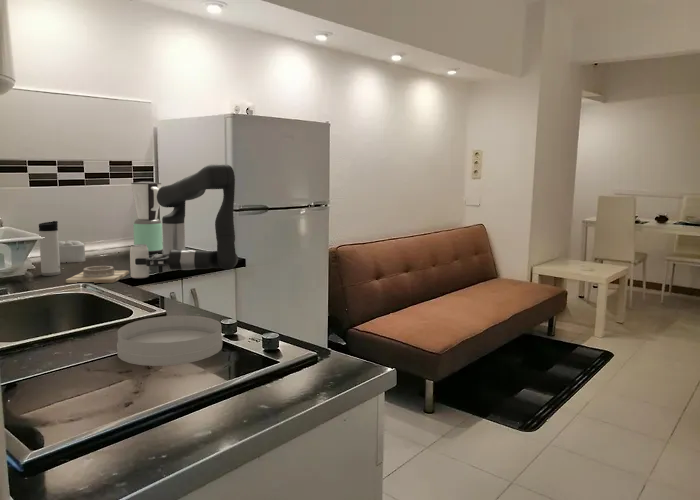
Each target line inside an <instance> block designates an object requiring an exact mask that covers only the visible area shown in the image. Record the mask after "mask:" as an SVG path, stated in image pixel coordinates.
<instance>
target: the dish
mask: <svg viewBox="0 0 700 500" xmlns="http://www.w3.org/2000/svg"><path fill="white" fill-rule="evenodd" d="M116 349H117V357H118V358H119V359H120V360H121V361H123V362H125V363H129V364H133V365H139V366H148V367H149V366H150V367H157V366H159V367H160V366H162V367H163V366H175V365H176V366H177V365H184V364H189V363H194V362H198V361H201V360H204V359H208V358H210V357H212V356H214V355H216V354H218V353H219V352H221V350H222V349H223V336H222V324H221V322H220V321H218V320H216V319H214V318H210V317H205V316H200V315H183V314H182V315H167V316H166V315H165V316H157V317H156V316H155V317H149V318H144V319H139V320H135V321H133V322H130V323H126V324H125V325H123V326H121V327H120V328H119V329H118V330H117V343H116Z"/></svg>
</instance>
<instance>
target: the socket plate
mask: <svg viewBox="0 0 700 500" xmlns="http://www.w3.org/2000/svg"><path fill="white" fill-rule="evenodd" d="M82 270H83V271H81V272H80V273H77V274H75V275H73V276H71V277H69V278H66V279H65V283H66V284H78V283H77V282H94V283H93V284H95V283H96V284H103V283H104V284H105V283H106V284H107V283H109V284H113V283H116V282H117V281H119V280H120V279H123V278H124V277H126V276H128V275H129V274H130V270H115V267H114V266H113V265H95V266H86V267H84V268H82Z"/></svg>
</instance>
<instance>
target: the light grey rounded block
mask: <svg viewBox="0 0 700 500" xmlns="http://www.w3.org/2000/svg"><path fill="white" fill-rule="evenodd" d="M85 245H86V244H85V243H84V242H81V241H80V240H69V239H68V240H65V241H64V240H59V257H60V264H61V263H62V264H64V263H65V264H67V263H80V262H81V263H82V262H86V250H85ZM66 262H67V263H66Z"/></svg>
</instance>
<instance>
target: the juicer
mask: <svg viewBox="0 0 700 500" xmlns="http://www.w3.org/2000/svg"><path fill="white" fill-rule="evenodd" d="M130 183H131V191H132V196H133V201H134V207H135V211H136V216H137V219H135V220H134V222H133V224H132V225H133V245H136V244H145V245H147V247H148V252H149V255H153V254H158V253H161V252H162V253H163V229H162V220H160V219H159V218H158V216H159V209H160V207H161V205H160V204H159V203H158V201H157V192H158V190H159V189H160V188H161V187H162V183H161V182H154V181H150V180H142V181H136V182H130Z"/></svg>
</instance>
